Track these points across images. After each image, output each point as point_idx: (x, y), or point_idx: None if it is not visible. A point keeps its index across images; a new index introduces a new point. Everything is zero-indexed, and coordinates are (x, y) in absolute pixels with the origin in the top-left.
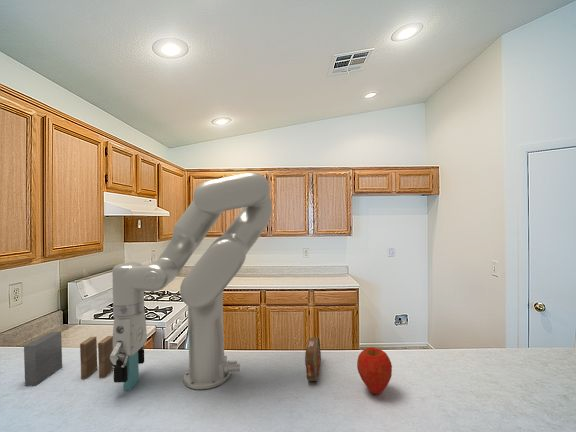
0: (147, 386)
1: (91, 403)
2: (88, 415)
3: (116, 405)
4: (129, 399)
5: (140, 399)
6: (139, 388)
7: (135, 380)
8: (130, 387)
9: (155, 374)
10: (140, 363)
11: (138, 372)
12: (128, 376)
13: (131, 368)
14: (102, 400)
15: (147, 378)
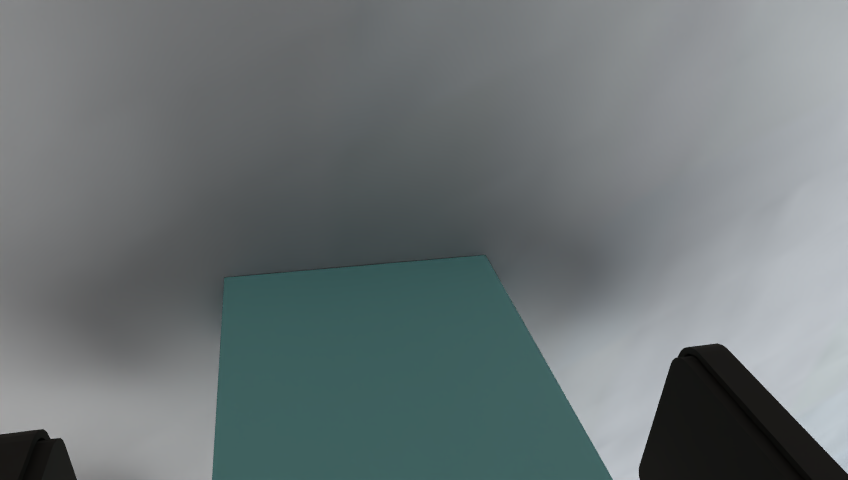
0: (426, 59)
1: (637, 453)
2: (808, 374)
3: (757, 237)
4: (693, 158)
5: (746, 11)
6: (464, 156)
7: (337, 295)
8: (482, 271)
9: (16, 90)
10: (70, 464)
11: (223, 352)
12: (557, 395)
13: (529, 474)
14: (618, 403)
15: (176, 171)
